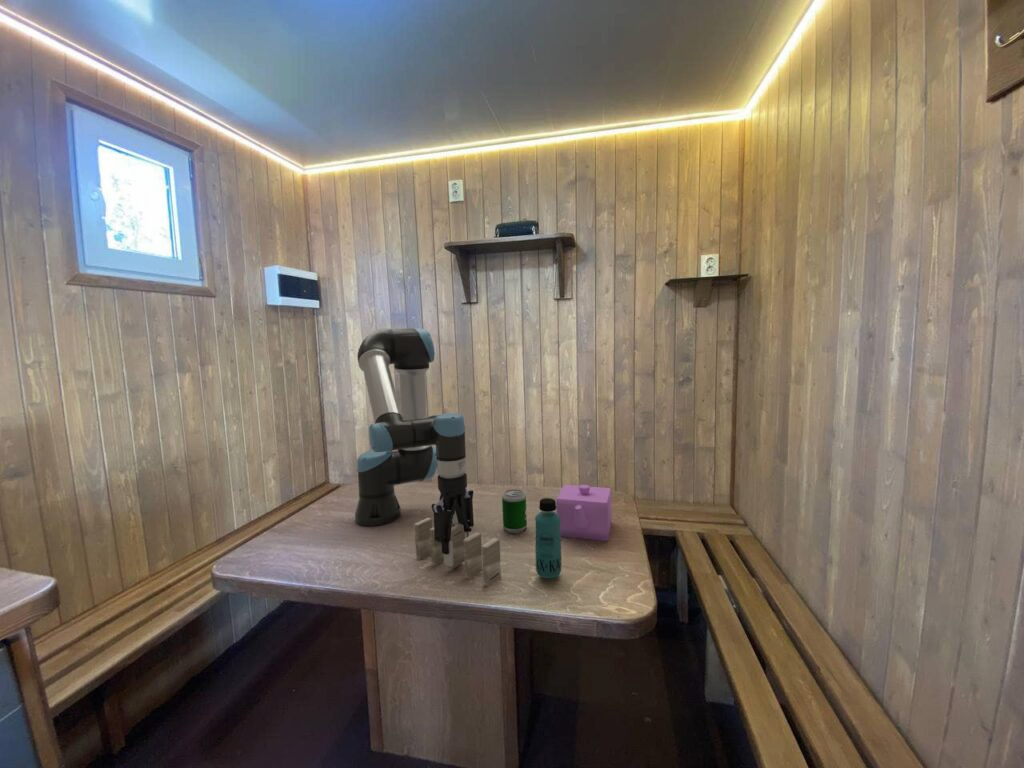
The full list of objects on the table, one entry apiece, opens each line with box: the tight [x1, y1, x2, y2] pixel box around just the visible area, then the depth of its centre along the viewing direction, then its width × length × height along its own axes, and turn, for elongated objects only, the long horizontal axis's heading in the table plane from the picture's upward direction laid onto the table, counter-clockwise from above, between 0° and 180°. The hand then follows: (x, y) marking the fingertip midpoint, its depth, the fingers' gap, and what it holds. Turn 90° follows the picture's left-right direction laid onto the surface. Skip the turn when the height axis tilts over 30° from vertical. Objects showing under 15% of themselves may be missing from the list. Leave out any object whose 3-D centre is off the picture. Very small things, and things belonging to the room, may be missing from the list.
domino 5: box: [481, 537, 502, 588], centre depth 104 cm, size 2×5×10 cm, turn 144°
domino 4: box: [463, 532, 483, 581], centre depth 108 cm, size 2×5×10 cm, turn 144°
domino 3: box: [447, 524, 464, 570], centre depth 111 cm, size 2×5×10 cm, turn 145°
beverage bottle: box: [534, 497, 563, 579], centre depth 105 cm, size 6×7×20 cm
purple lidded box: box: [555, 484, 613, 542], centre depth 130 cm, size 15×25×14 cm, turn 162°
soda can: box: [501, 488, 528, 534], centre depth 133 cm, size 8×8×12 cm
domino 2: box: [430, 526, 444, 567], centre depth 115 cm, size 2×5×10 cm, turn 145°
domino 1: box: [414, 517, 433, 561], centre depth 118 cm, size 2×5×10 cm, turn 145°
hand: (456, 559), depth 111 cm, fingers closed on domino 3, 5 cm apart
